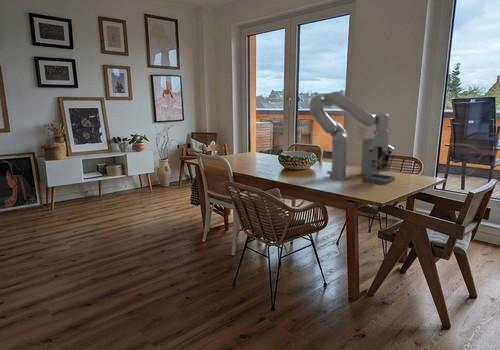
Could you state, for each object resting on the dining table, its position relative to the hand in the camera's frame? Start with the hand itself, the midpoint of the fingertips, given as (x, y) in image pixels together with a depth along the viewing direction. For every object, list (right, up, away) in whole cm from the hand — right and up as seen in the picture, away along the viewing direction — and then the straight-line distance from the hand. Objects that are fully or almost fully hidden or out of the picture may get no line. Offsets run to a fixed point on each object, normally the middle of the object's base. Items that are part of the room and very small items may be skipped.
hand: (380, 160), depth 225 cm
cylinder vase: (+1, -9, +22) cm, 24 cm away
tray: (0, -13, +3) cm, 14 cm away
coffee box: (0, -7, +2) cm, 7 cm away
